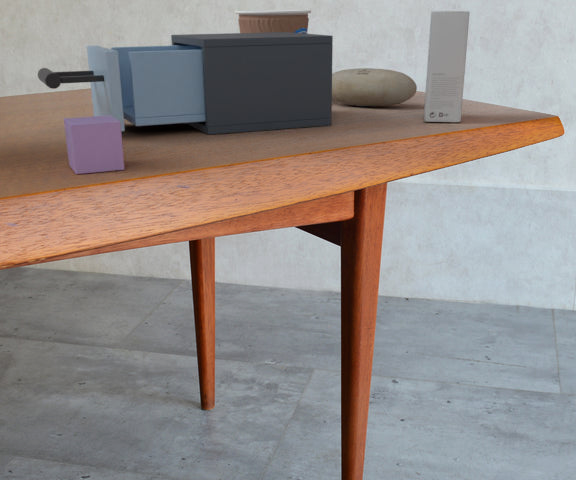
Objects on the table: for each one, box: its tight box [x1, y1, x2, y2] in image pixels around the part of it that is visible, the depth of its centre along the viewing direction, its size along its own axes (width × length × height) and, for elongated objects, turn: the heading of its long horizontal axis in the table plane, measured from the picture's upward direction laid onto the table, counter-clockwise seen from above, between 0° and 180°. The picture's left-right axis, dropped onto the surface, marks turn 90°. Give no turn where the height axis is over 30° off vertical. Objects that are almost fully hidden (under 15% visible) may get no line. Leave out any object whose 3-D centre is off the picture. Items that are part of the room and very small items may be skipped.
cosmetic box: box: [423, 10, 470, 123], centre depth 85 cm, size 6×4×12 cm
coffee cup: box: [235, 9, 312, 34], centre depth 102 cm, size 10×10×12 cm
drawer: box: [37, 44, 205, 132], centre depth 79 cm, size 19×11×8 cm, turn 114°
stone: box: [332, 67, 418, 107], centre depth 97 cm, size 6×6×12 cm
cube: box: [63, 115, 126, 175], centre depth 62 cm, size 4×4×4 cm
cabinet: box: [170, 32, 334, 136], centre depth 84 cm, size 15×13×10 cm
